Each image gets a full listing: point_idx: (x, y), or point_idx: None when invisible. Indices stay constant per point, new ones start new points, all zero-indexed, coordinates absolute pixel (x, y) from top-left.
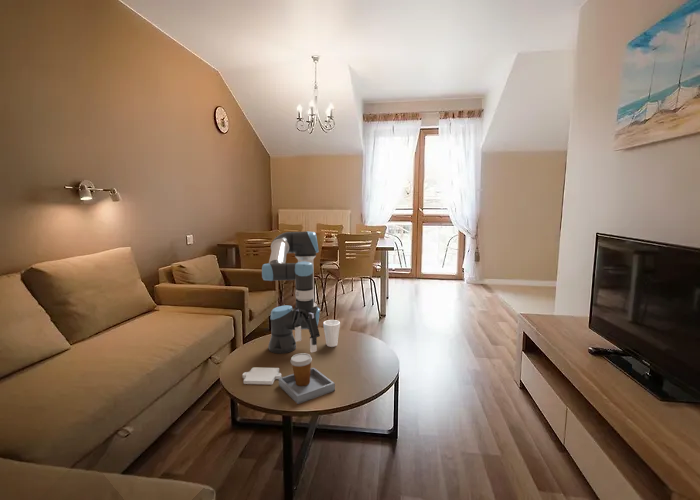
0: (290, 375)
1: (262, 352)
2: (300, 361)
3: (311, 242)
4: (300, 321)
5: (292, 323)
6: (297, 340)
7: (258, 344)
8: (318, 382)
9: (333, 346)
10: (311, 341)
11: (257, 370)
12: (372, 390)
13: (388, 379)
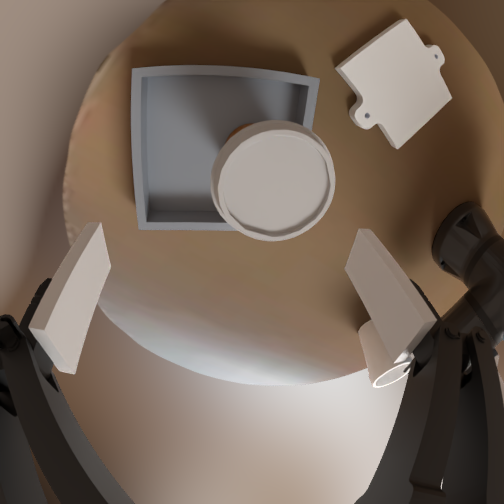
0: (306, 127)
1: (480, 184)
2: (231, 157)
3: None
4: (404, 423)
5: (479, 331)
6: (358, 245)
7: (500, 203)
8: None
9: (361, 326)
10: (48, 297)
11: (431, 91)
12: None
13: (134, 336)
